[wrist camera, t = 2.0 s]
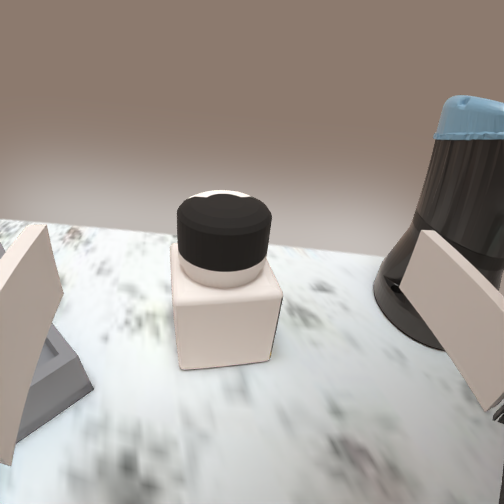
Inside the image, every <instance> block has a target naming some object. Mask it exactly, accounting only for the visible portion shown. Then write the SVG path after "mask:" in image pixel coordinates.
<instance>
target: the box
mask: <svg viewBox="0 0 504 504" xmlns="http://www.w3.org/2000/svg"><path fill="white" fill-rule="evenodd" d="M5 253H6V252H5V250H4V248H3V246H2V244H1V243H0V259H1V258H2V256H3V255H4V254H5ZM93 389H94V388H93V386H92V384H91V382H90V380H89V378H88V376H87V374H86V372H85V370H84V368H83V366H82V364H81V361H80V359H79V357H78V355H77V354H76V353H75V351H74V350H73V349H72V348H71V347H70V345H69V344H68V343H67V342H66V340H65V339H64V338H63V337H62V335H61V334H60V333H59V331H58V330H57V329H56V327H55V326H54V325H53V323H51V326H50V329H49V331H48V334H47V337H46V339H45V342H44V345H43V348H42V350H41V353H40V356H39V359H38V362H37V365H36V368H35V371H34V374H33V378H32V381H31V384H30V388H29V391H28V395H27V398H26V402H25V405H24V409H23V413H22V417H21V421H20V425H19V430H18V434H17V439H16V443H17V442H19V441H20V440H21V439H23V438H24V437H26V436H27V435H29V434H30V433H32V432H33V431H35V430H36V429H38V428H39V427H40V426H42V425H43V424H45V423H46V422H48V421H49V420H51V419H52V418H53V417H55V416H56V415H58V414H59V413H61V412H62V411H63V410H65V409H66V408H68V407H69V406H71V405H72V404H73V403H75V402H76V401H78V400H79V399H81V398H82V397H83V396H85V395H86V394H88V393H89V392H90V391H92V390H93ZM16 443H15V444H16Z"/></svg>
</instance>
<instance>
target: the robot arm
mask: <svg viewBox="0 0 504 504" xmlns="http://www.w3.org/2000/svg"><path fill="white" fill-rule="evenodd" d="M433 138H434V139H436V140H435V144H434V148H433V152H432V156H431V160H430V164H429V167H428V171H427V174H426V178H425V181H424V185H423V188H422V191H421V195H420V198H419V201H418V204H417V208H416V211H415V214H414V217H413V220H412V223H411V225H410V227H409V228H408V230H407V231H406V232H405V234H404V235H403V236H402V238H401V239H400V240H399V241H398V243H397V244H396V245H395V247H394V248H393V249H392V250H391V252H390V253H389V254H388V255H387V257H386V258H385V259H384V260H383V262H382V264H381V266H380V268H379V271H378V274H377V276H376V279H375V282H374V294H375V297H376V300H377V302H378V304H379V306H380V308H381V309H382V311H383V312H384V313H385V315H386V316H387V317H388V318H389V319H390V320H391V321H392V322H393V323H394V324H395V325H396V326H397V327H398V328H399V329H400V330H402V331H403V332H404V333H406V334H407V335H409V336H410V337H412V338H414V339H416V340H417V341H419V342H421V343H424V344H426V345H428V346H431V347H434V348H438V349H442V350H445V351H446V352H447V354H448V355H449V357H450V358H451V360H452V361H453V363H454V364H455V366H456V367H457V369H458V370H459V372H460V373H461V375H462V376H463V378H464V379H465V381H466V382H467V384H468V385H469V387H470V389H471V390H472V392H473V393H474V395H475V397H476V398H477V400H478V401H479V403H480V405H481V406H482V408H483V410H484V411H485V412H486V411H488V410H489V409H491V408H493V407H495V406H496V405H498V404H499V403H500V402H501V401H502V399H503V398H504V297H503V296H502V294H501V293H500V292H499V288H500V283H501V278H502V273H503V270H504V103H501V102H497V101H493V100H489V99H485V98H479V97H473V96H465V95H458V96H453V97H451V98H449V99H448V100H447V101H446V102H445V104H444V106H443V109H442V113H441V117H440V121H439V124H438V128H437V132H436V133H434V137H433ZM63 294H64V292H63V289H62V286H61V282H60V279H59V275H58V271H57V267H56V263H55V259H54V255H53V251H52V247H51V243H50V238H49V233H48V228H47V224H43V225H27V226H26V228H25V229H24V230H23V231H22V232H21V234H20V235H19V236H18V237H17V239H16V240H15V241H14V242H13V244H12V245H11V246H10V247H9V249H8V250H7V251H6V253H5V254H4V255H3V256H2V258H1V259H0V463H2V464H5V465H8V466H11V465H12V459H13V454H14V448H15V443H16V439H17V434H18V430H19V425H20V421H21V417H22V413H23V409H24V405H25V402H26V398H27V395H28V391H29V388H30V384H31V381H32V378H33V374H34V371H35V368H36V365H37V362H38V359H39V356H40V353H41V350H42V348H43V345H44V342H45V339H46V337H47V334H48V331H49V329H50V326H51V323H52V321H53V318H54V316H55V313H56V311H57V309H58V306H59V304H60V301H61V299H62V297H63ZM502 413H504V405H503V406H502V407H501V408H500V409H499V410H498V411H497V412H496V413H495V414H494V416H493V420H494V421H495V420H496V419H497V418H498V417H499V416H500V415H501V414H502ZM498 422H500V423H503V424H504V414H503V415H502V416H501V417H500V418H499V420H498ZM499 504H504V466H503V476H502V485H501V492H500V499H499Z"/></svg>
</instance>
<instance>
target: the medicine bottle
mask: <svg viewBox="0 0 504 504" xmlns="http://www.w3.org/2000/svg"><path fill="white" fill-rule="evenodd" d="M271 220H272V215H271V212H270V211H269V209H268V208H267V206H266V205H265V204H264V203H263V202H261V201H260V200H258V199H256V198H254V197H252V196H249V195H246V194H243V193H240V192H236V191H228V190H215V191H207V192H203V193H200V194H196V195H194V196H191V197H189V198H188V199H186V200H185V201H184V202H183V203H182V204H181V205H180V206H179V208H178V210H177V237H178V243H173V244H171V246H170V263H171V285H172V303H173V314H174V325H175V335H176V344H177V353H178V361H179V366H180V368H181V369H183V370H187V369H200V368H211V367H221V366H231V365H239V364H248V363H256V362H263V361H268V360H269V359H270V357H271V352H272V347H273V343H274V338H275V333H276V329H277V324H278V319H279V314H280V309H281V304H282V299H283V292H282V290H281V288H280V286H279V284H278V282H277V280H276V277H275V275H274V273H273V271H272V269H271V267H270V265H269V263H268V261H267V259H266V256H267V249H268V242H269V234H270V227H271Z"/></svg>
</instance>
